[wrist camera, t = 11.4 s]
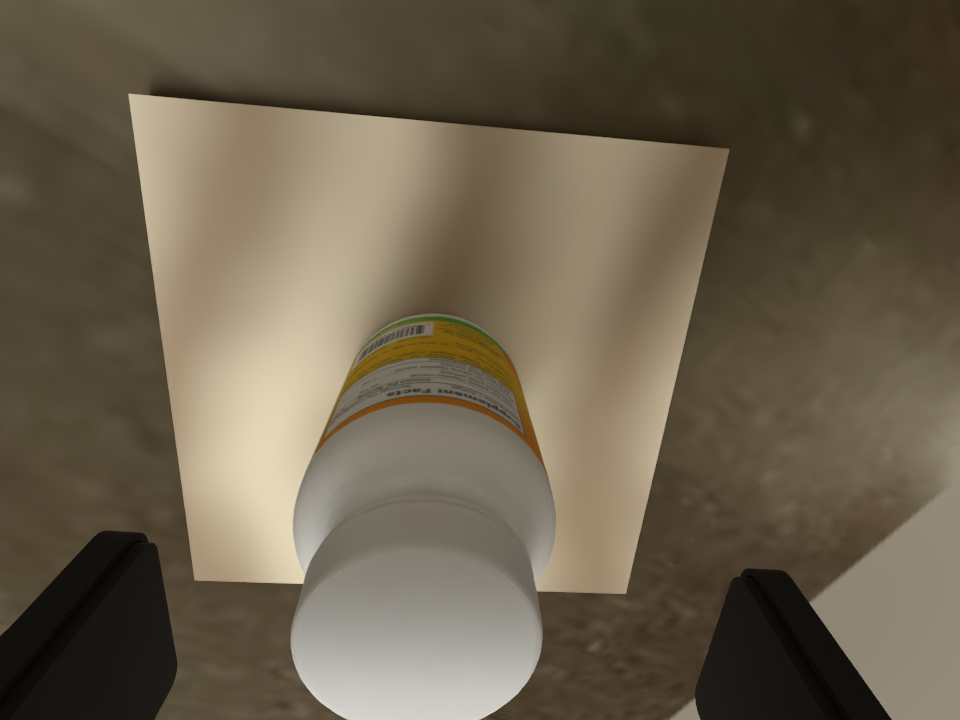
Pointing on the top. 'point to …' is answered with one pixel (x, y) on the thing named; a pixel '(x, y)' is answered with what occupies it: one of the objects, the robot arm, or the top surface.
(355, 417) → the supplement bottle
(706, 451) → the top surface
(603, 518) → the birch board
